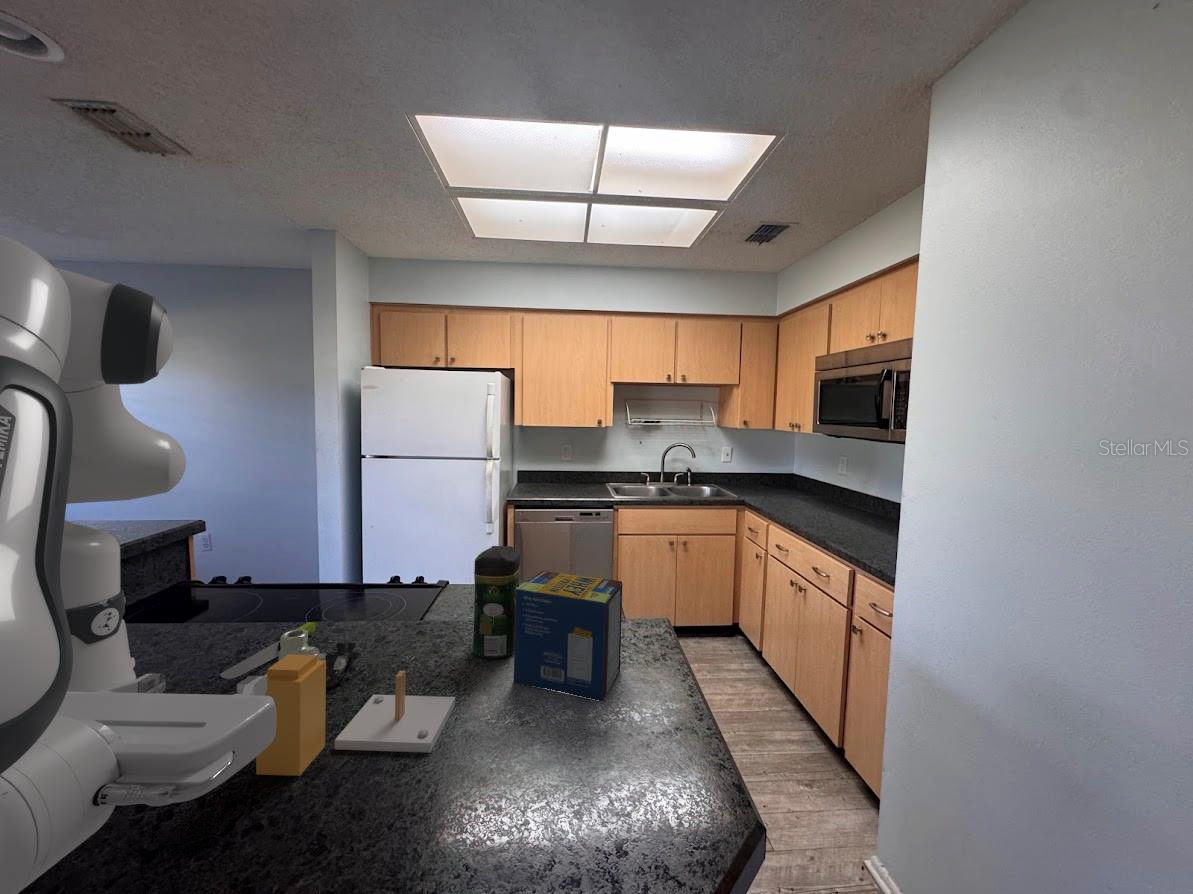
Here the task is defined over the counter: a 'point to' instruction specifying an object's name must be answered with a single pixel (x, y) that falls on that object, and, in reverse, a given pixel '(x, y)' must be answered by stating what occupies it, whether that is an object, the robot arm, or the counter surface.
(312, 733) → the tall orange stepped box
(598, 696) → the protein box
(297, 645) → the valve
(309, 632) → the kitchen knife
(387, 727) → the plate
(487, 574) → the coffee jar
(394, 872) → the counter surface
